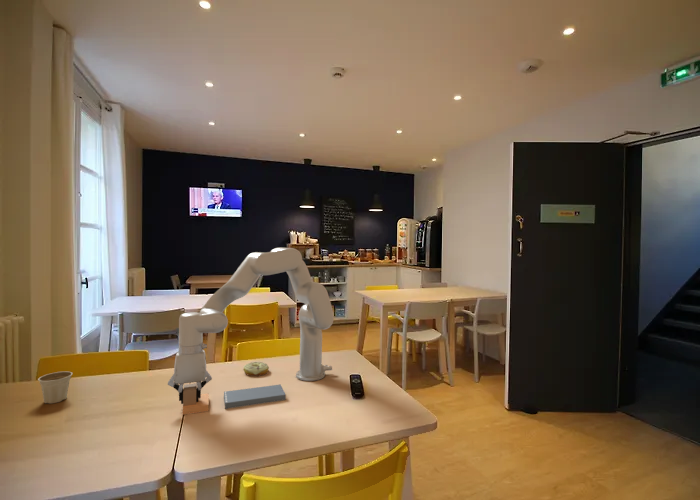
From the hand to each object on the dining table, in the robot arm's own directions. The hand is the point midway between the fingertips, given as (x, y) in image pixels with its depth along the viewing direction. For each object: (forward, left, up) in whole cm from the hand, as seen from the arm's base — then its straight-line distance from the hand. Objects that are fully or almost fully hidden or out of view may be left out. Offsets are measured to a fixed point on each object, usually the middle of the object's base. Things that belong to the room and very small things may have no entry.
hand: (190, 400), depth 121 cm
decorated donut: (-25, -27, -3) cm, 37 cm away
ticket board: (-22, 0, -2) cm, 22 cm away
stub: (-2, 0, -2) cm, 3 cm away
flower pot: (+45, -22, -3) cm, 50 cm away
